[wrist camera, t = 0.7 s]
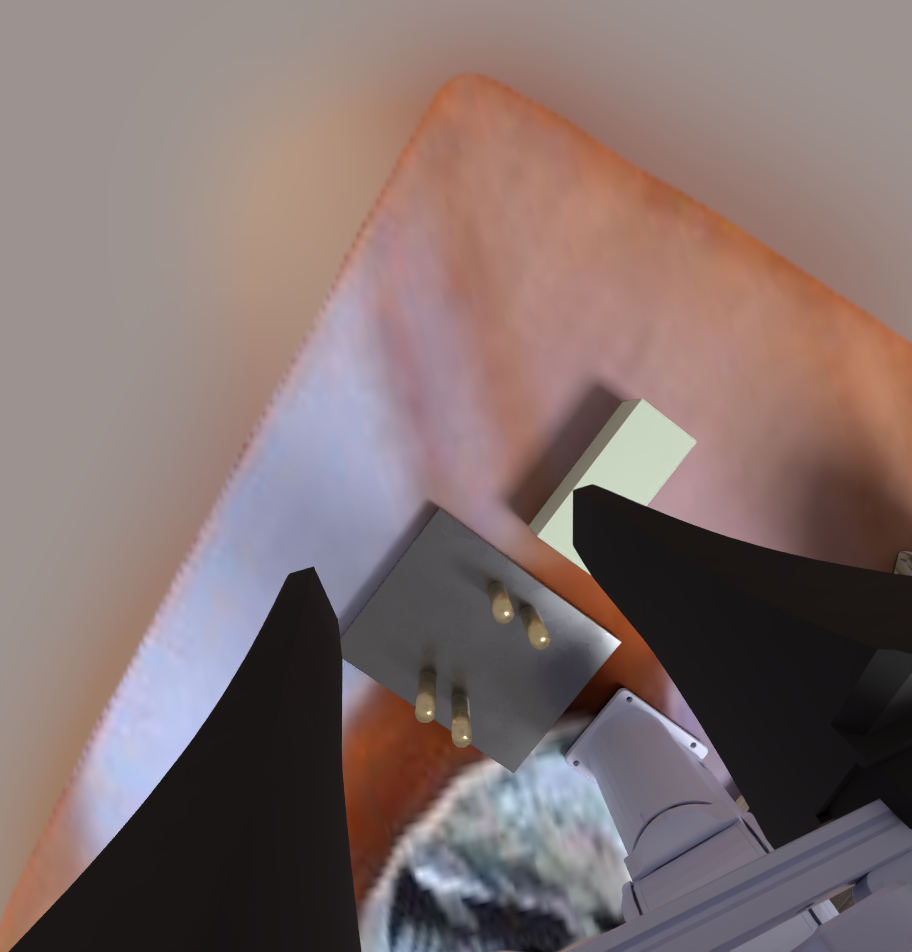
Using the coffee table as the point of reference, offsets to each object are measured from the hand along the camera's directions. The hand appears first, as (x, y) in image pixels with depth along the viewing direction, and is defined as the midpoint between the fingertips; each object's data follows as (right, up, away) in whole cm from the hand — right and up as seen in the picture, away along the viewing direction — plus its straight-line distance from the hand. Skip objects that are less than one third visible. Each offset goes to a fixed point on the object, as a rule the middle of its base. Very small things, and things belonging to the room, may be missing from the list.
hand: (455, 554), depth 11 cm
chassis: (+2, -11, +22) cm, 25 cm away
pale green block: (+11, +2, +21) cm, 24 cm away
